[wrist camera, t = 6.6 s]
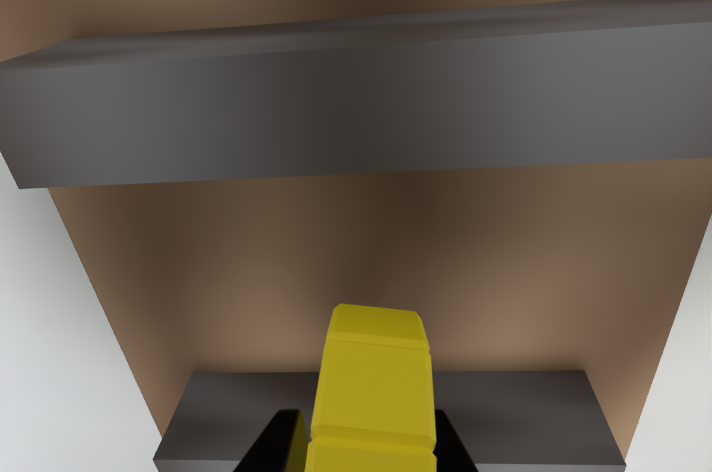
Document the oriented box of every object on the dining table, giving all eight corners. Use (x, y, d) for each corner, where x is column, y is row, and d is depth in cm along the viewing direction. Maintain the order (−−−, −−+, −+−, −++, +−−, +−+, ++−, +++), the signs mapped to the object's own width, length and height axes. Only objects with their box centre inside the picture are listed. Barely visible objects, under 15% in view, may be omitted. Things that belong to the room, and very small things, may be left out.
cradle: (195, 446, 20) (149, 567, 16) (-62, -185, 10) (-365, -263, 6) (599, 450, 18) (652, 584, 15) (825, -297, 8) (1219, -507, 4)
